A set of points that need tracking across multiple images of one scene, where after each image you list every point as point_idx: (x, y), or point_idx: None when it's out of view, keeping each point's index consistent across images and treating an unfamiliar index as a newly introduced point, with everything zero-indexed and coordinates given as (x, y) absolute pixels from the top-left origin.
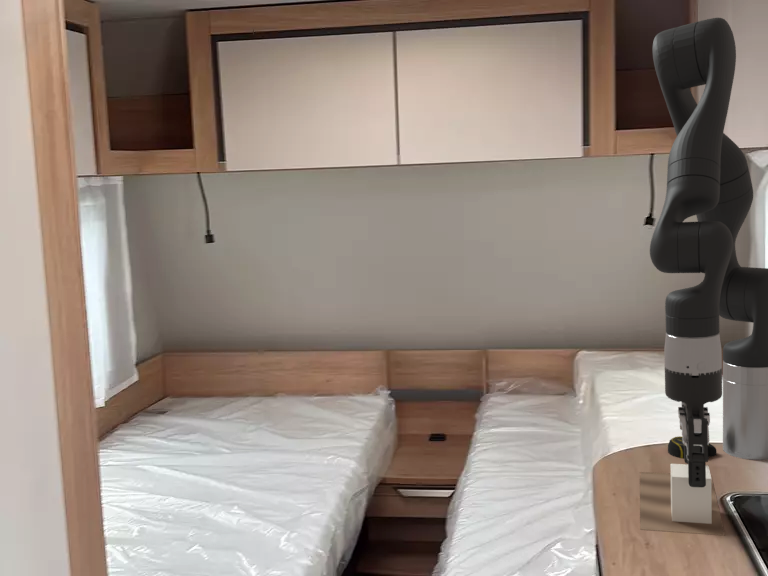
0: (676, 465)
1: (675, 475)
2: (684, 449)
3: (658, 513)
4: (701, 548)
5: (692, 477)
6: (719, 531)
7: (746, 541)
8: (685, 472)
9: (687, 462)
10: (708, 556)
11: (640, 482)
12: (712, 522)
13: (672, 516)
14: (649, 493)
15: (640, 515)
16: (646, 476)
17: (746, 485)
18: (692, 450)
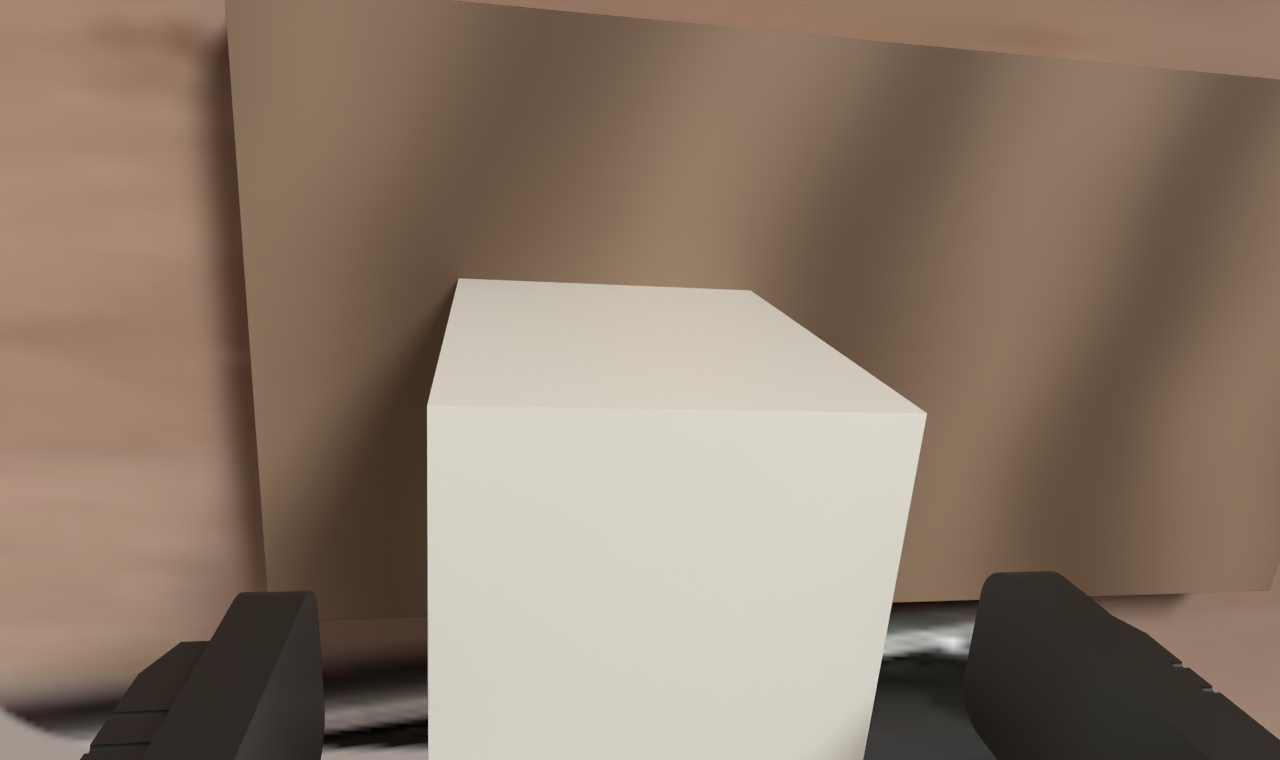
0: (858, 482)
1: (482, 455)
2: (1110, 672)
3: (603, 179)
4: (208, 436)
5: (116, 718)
6: (328, 591)
7: (386, 692)
8: (612, 577)
9: (990, 596)
10: (85, 471)
11: (1231, 82)
12: None
13: (457, 288)
14: (1005, 138)
15: (544, 13)
16: None
17: None
18: (1078, 758)
